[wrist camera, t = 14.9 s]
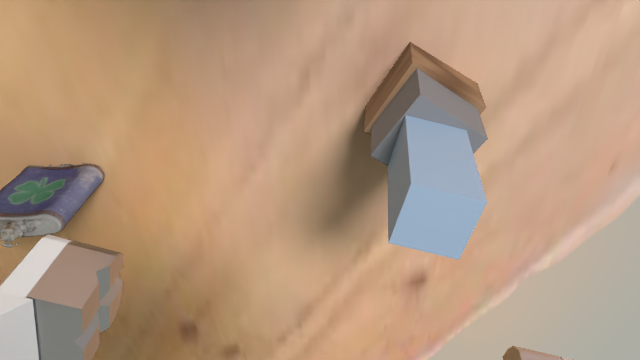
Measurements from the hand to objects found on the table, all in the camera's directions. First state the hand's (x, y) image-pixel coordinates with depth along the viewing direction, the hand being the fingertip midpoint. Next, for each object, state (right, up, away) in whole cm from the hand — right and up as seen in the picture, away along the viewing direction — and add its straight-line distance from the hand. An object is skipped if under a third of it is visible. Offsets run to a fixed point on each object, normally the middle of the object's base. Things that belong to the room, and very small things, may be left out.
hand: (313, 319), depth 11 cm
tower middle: (+9, +8, +32) cm, 34 cm away
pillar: (+8, +5, +28) cm, 30 cm away
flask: (-27, +4, +46) cm, 53 cm away
